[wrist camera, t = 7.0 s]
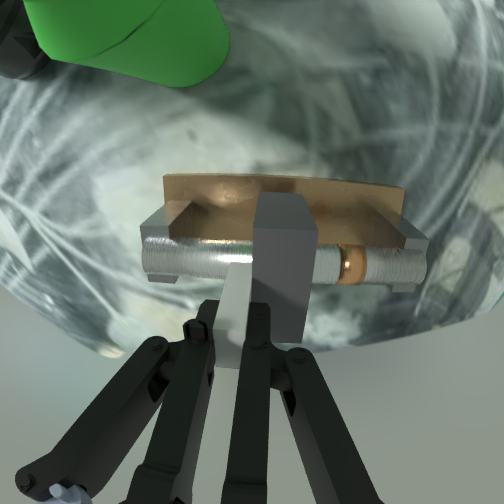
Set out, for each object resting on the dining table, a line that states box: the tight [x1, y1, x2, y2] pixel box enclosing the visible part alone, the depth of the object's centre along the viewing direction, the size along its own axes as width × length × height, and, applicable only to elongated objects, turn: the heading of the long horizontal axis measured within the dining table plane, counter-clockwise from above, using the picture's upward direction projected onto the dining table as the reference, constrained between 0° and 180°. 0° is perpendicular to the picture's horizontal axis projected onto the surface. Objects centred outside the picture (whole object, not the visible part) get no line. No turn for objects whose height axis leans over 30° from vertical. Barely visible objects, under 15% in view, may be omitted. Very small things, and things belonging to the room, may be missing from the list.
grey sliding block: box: [251, 192, 319, 343], centre depth 20 cm, size 4×8×8 cm, turn 179°
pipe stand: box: [140, 173, 430, 292], centre depth 23 cm, size 24×10×10 cm, turn 89°
